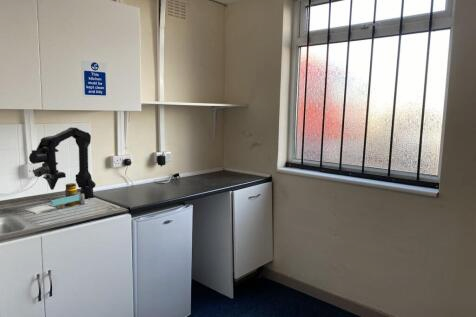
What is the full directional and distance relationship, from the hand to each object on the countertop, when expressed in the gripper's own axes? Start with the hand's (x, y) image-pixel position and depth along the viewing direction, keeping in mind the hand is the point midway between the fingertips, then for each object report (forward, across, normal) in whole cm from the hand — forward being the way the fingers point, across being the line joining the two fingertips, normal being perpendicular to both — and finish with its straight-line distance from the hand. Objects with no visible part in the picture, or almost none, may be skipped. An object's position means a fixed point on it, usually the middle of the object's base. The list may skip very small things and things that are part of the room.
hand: (52, 189), depth 195 cm
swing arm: (+7, +5, +4) cm, 10 cm away
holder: (+10, 0, +9) cm, 14 cm away
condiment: (+11, +1, +9) cm, 14 cm away
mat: (+10, -3, -5) cm, 12 cm away
